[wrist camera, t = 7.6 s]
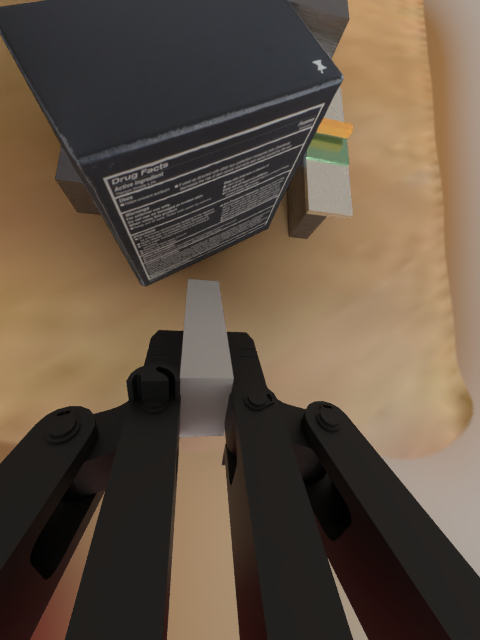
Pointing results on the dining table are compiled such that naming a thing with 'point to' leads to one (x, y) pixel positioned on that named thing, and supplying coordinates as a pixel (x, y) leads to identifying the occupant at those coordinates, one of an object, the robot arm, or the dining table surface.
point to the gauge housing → (319, 160)
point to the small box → (176, 113)
